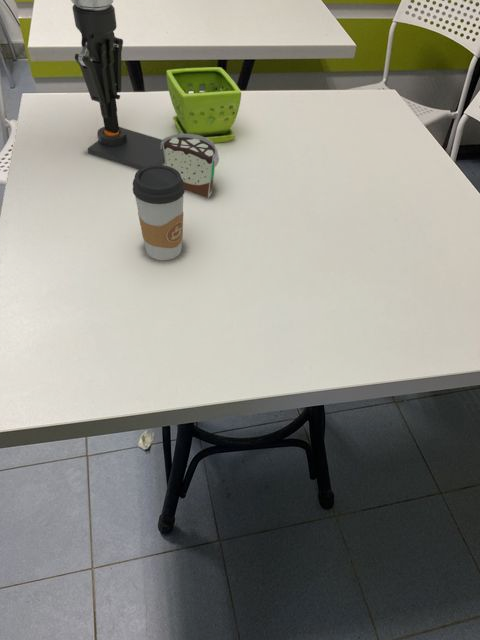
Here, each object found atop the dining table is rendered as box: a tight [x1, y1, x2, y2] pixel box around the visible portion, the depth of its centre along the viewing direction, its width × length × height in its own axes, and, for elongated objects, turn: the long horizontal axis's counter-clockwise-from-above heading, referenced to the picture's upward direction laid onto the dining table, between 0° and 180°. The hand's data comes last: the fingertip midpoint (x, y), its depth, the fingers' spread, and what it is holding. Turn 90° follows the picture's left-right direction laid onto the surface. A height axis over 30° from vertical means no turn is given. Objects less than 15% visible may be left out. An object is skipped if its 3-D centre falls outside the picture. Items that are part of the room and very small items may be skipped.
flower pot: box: [166, 66, 242, 144], centre depth 114 cm, size 14×14×13 cm
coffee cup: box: [132, 164, 186, 261], centre depth 84 cm, size 8×8×15 cm
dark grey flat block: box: [87, 126, 166, 170], centre depth 110 cm, size 17×12×4 cm
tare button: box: [104, 130, 119, 136], centre depth 110 cm, size 3×3×2 cm
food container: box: [161, 133, 220, 199], centre depth 101 cm, size 12×6×10 cm, turn 65°
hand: (112, 129), depth 109 cm, fingers closed
